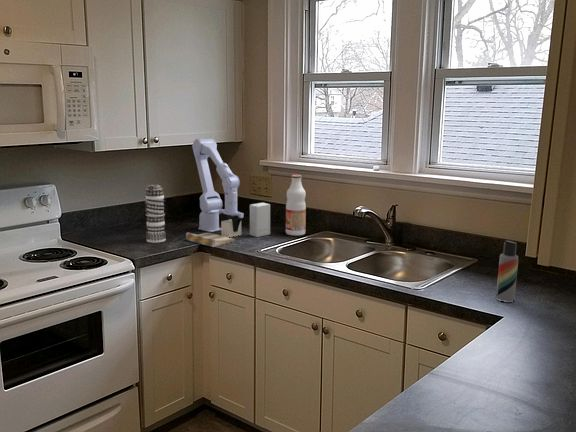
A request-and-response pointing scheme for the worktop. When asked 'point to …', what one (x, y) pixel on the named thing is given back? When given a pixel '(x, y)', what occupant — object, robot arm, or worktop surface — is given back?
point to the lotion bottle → (507, 272)
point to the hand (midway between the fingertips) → (231, 230)
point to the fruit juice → (296, 207)
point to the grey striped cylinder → (155, 213)
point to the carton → (229, 229)
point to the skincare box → (259, 219)
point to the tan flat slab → (209, 239)
